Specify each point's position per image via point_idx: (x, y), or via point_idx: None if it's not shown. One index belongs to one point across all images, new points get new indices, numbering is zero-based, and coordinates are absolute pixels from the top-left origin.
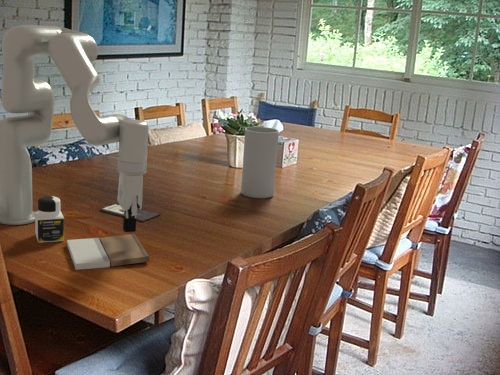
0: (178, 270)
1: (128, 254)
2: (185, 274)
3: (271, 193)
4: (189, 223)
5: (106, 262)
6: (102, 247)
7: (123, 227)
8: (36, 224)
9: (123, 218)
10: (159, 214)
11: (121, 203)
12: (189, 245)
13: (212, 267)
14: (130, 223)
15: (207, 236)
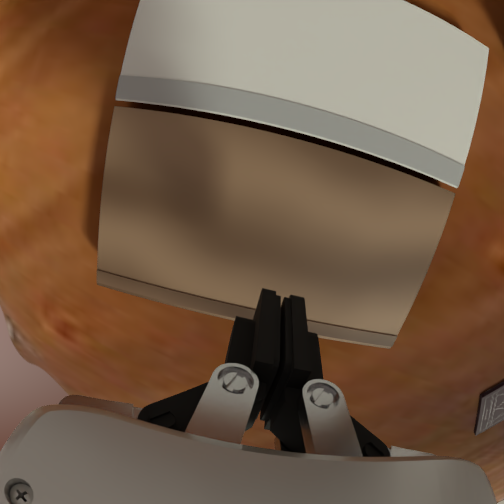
0: (50, 318)
1: (152, 215)
2: (26, 317)
3: None
4: None
5: (121, 84)
6: (322, 135)
7: (290, 305)
8: None
9: (306, 357)
10: (476, 434)
11: (191, 498)
12: None
13: (67, 390)
14: (226, 359)
15: None
